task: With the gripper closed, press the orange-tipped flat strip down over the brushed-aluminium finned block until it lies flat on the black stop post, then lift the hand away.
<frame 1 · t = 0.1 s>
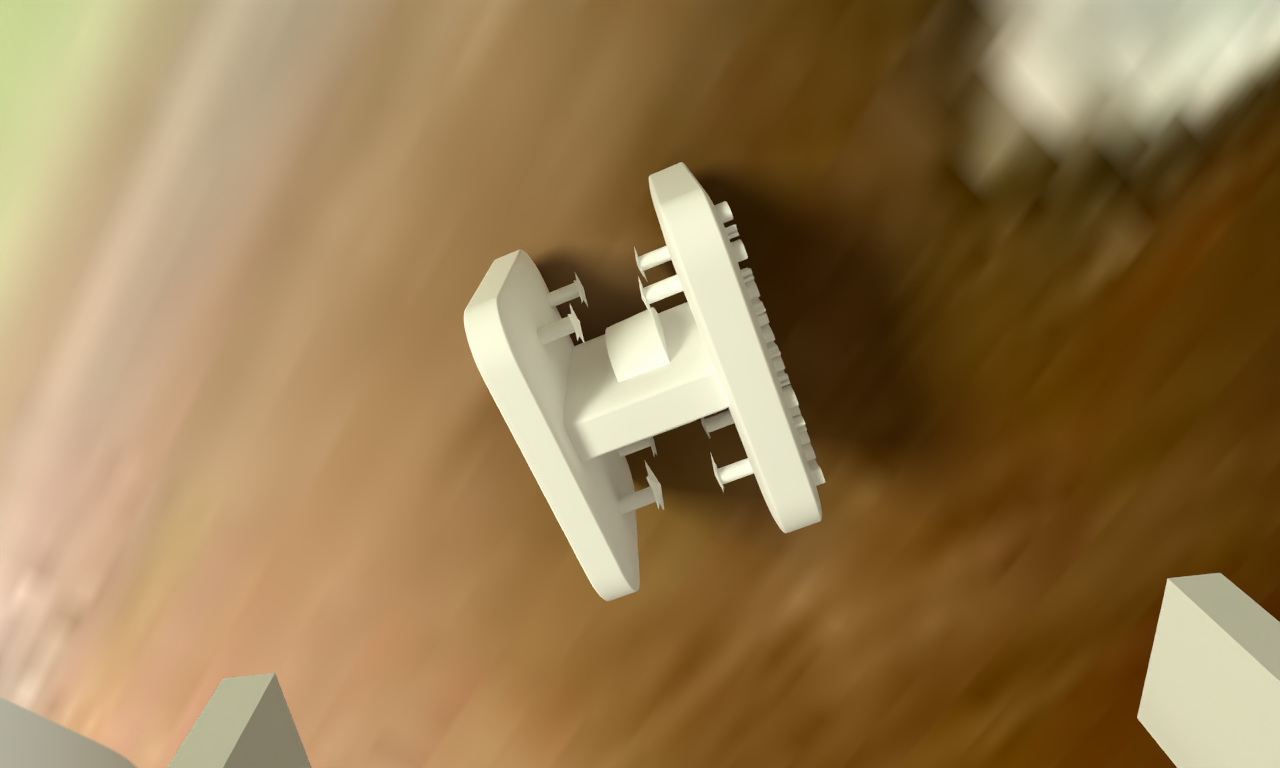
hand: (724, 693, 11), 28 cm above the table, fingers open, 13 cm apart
cable organizer: (644, 329, 39), on the table
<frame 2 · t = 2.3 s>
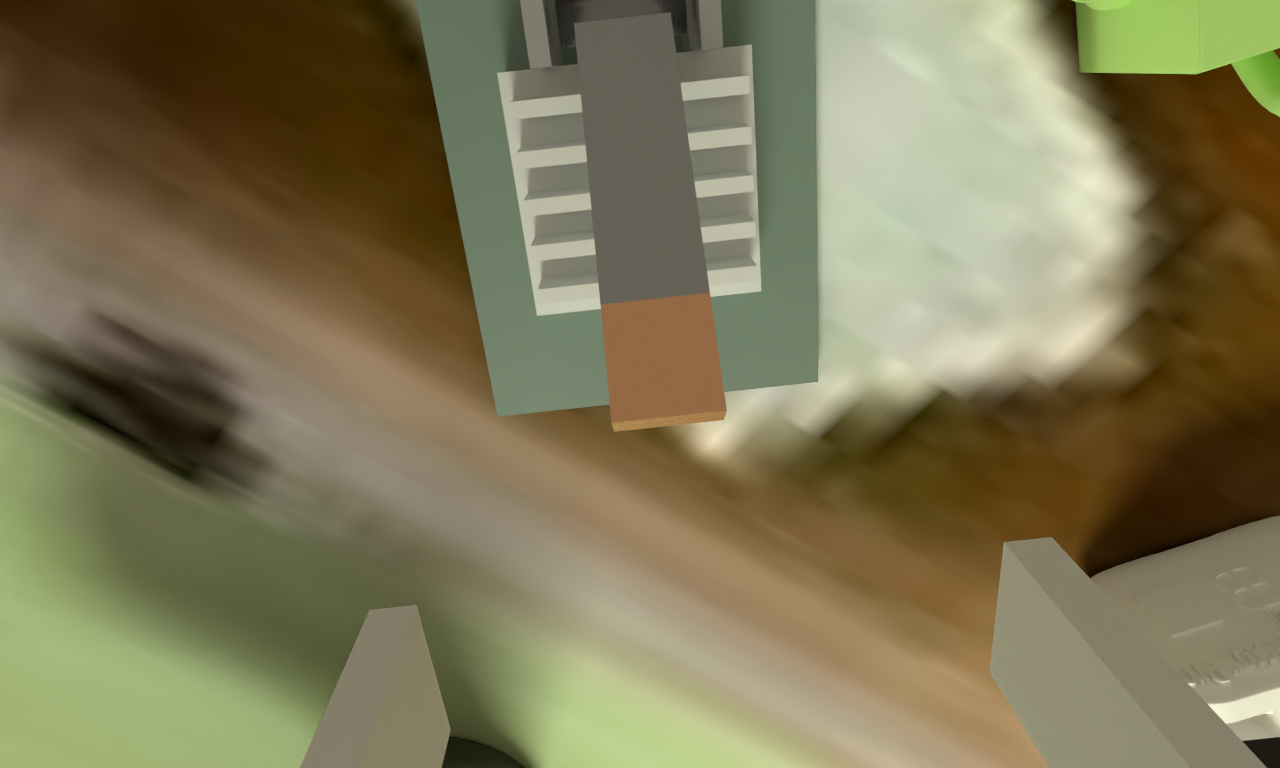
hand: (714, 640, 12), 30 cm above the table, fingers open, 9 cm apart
cable organizer: (1183, 590, 50), on the table
orange-tipped flat strip: (641, 189, 26), point 12 cm above the table, hinge at 40.0°
heatsink board: (634, 176, 38), on the table
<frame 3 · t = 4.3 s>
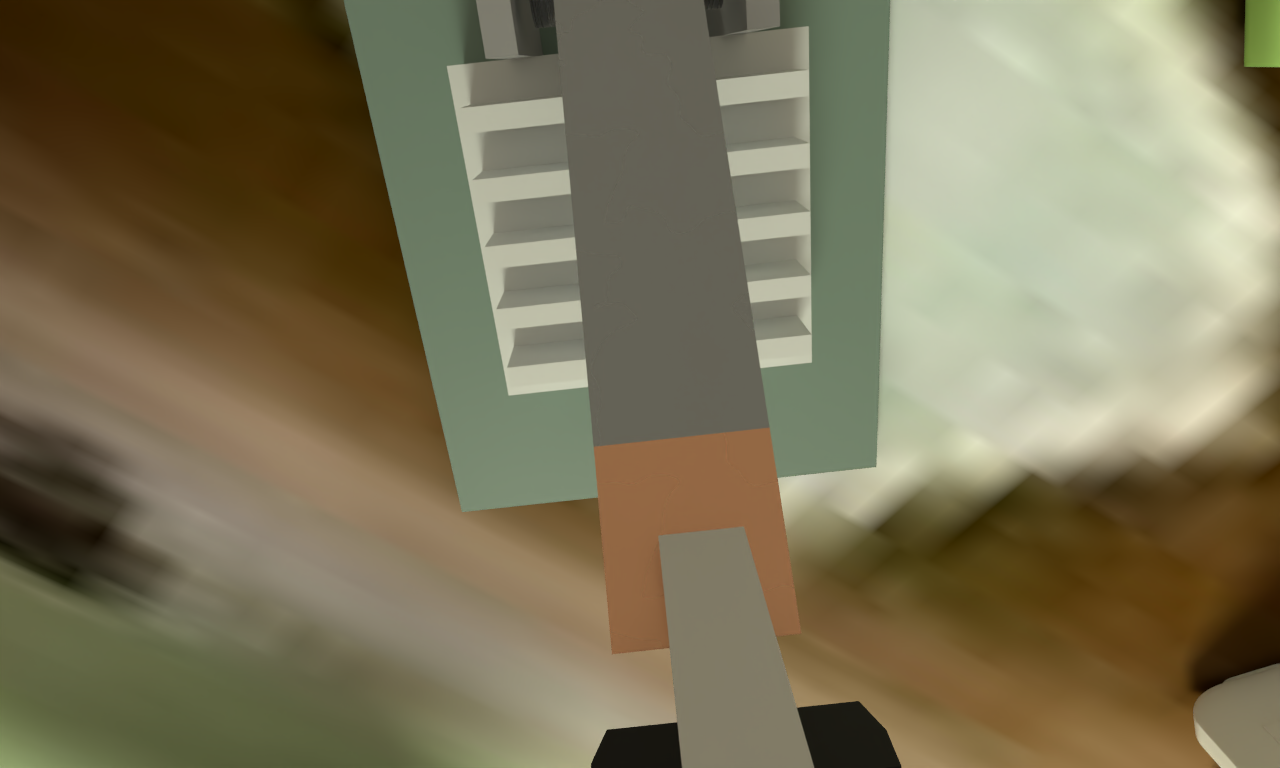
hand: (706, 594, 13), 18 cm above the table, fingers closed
orange-tipped flat strip: (657, 250, 17), point 12 cm above the table, hinge at 38.8°, touching gripper
heatsink board: (640, 204, 29), on the table
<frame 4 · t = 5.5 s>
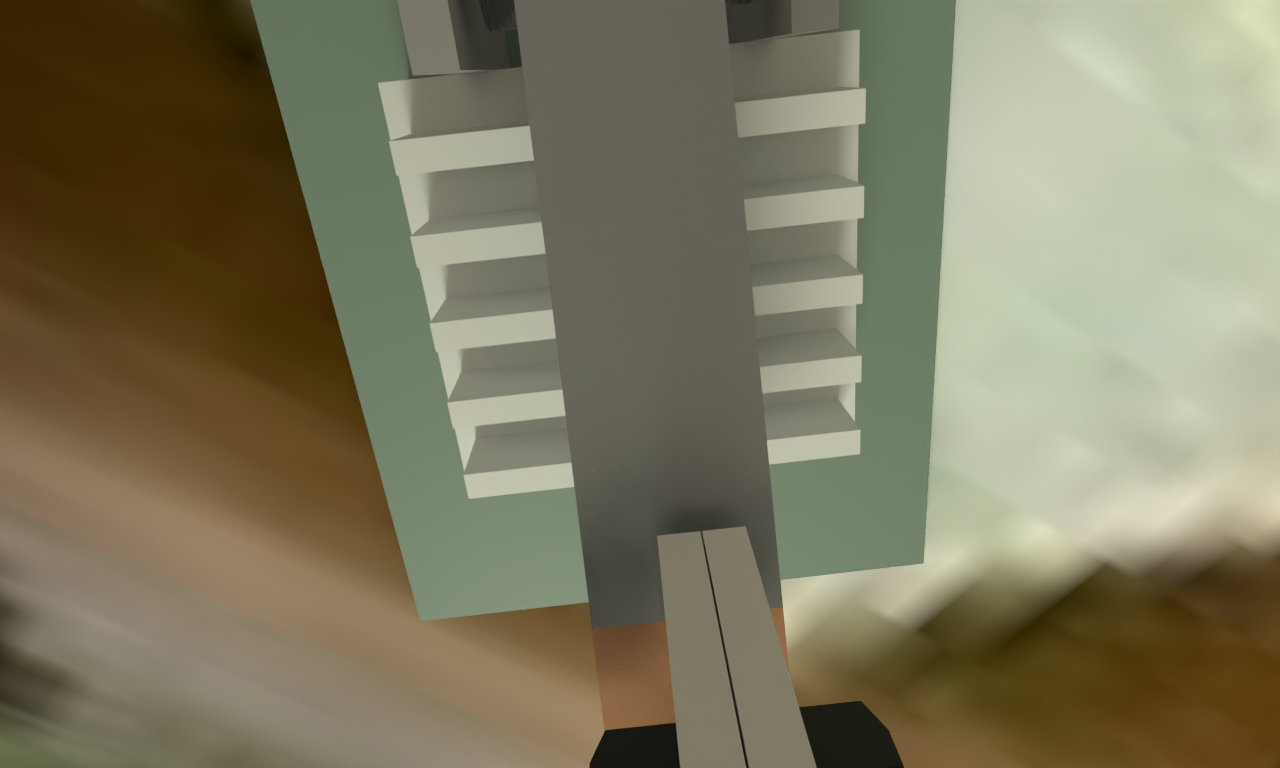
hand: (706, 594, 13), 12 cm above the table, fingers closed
orange-tipped flat strip: (660, 380, 14), point 10 cm above the table, hinge at 16.9°, touching gripper
heatsink board: (636, 252, 23), on the table
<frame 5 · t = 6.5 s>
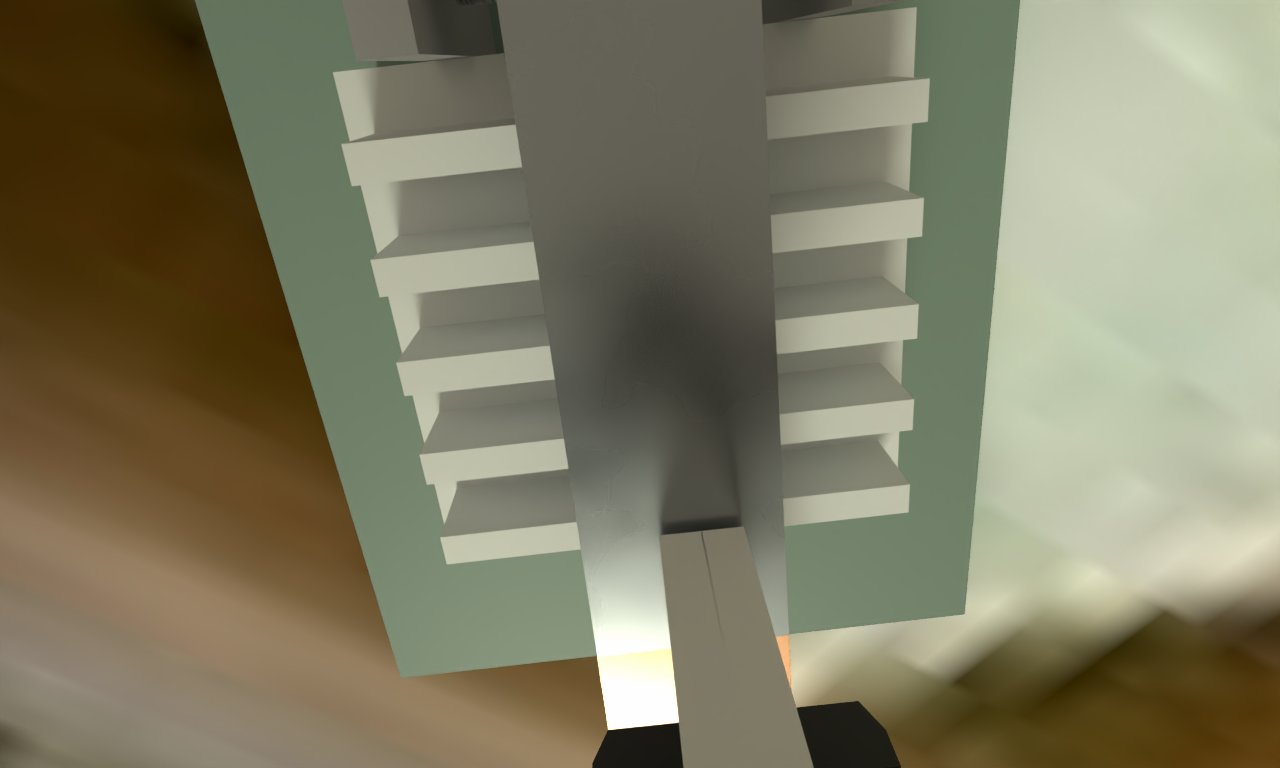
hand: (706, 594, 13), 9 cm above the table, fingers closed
orange-tipped flat strip: (669, 414, 13), point 8 cm above the table, hinge at 3.3°, touching gripper
heatsink board: (643, 268, 20), on the table
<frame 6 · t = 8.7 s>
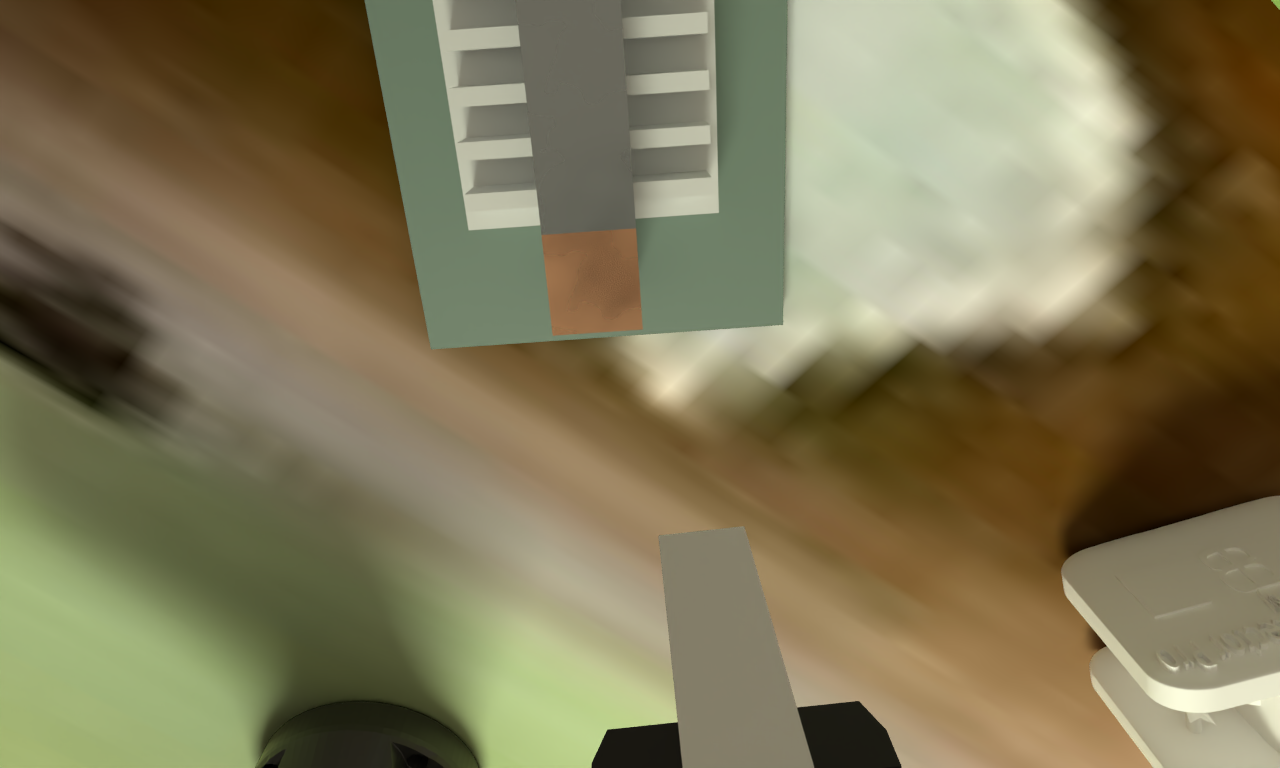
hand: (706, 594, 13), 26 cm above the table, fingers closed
cable organizer: (1170, 574, 47), on the table
orange-tipped flat strip: (578, 106, 27), point 8 cm above the table, hinge at 3.2°
heatsink board: (585, 83, 34), on the table
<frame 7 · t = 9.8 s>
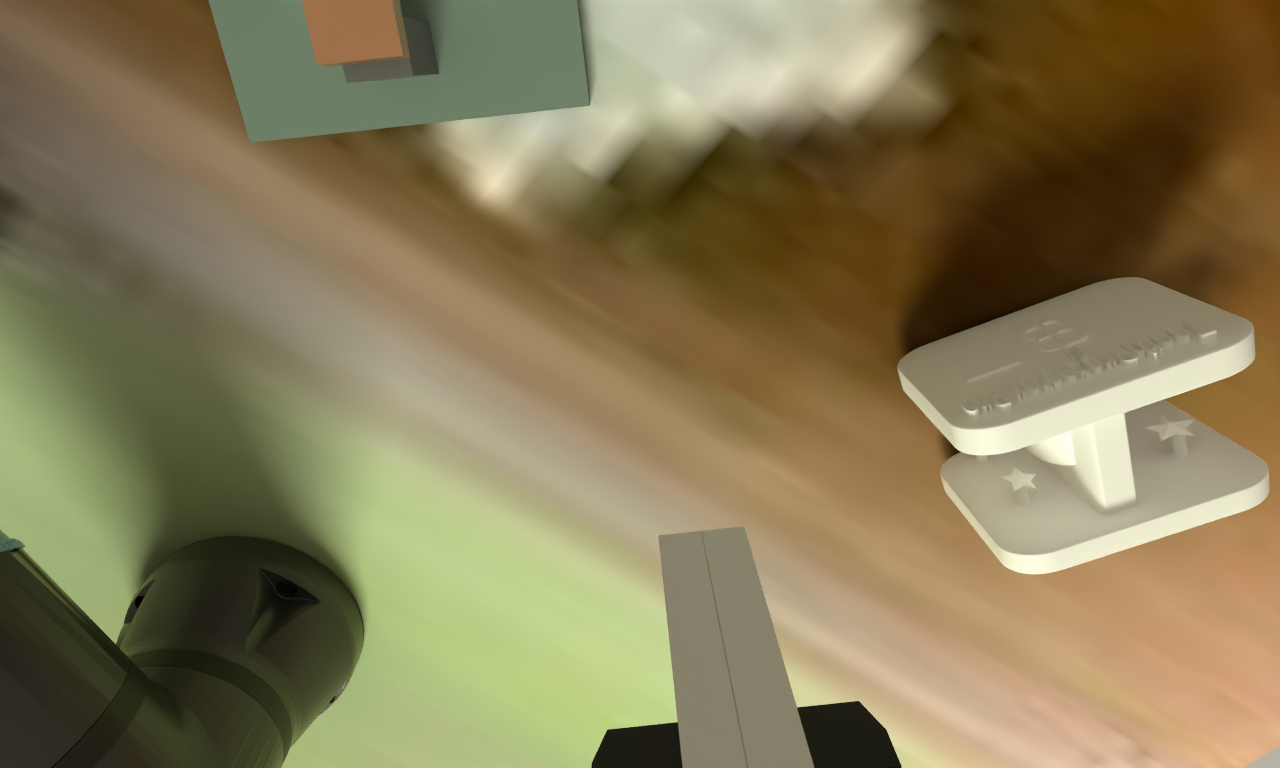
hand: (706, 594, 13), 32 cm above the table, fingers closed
cable organizer: (1014, 375, 48), on the table
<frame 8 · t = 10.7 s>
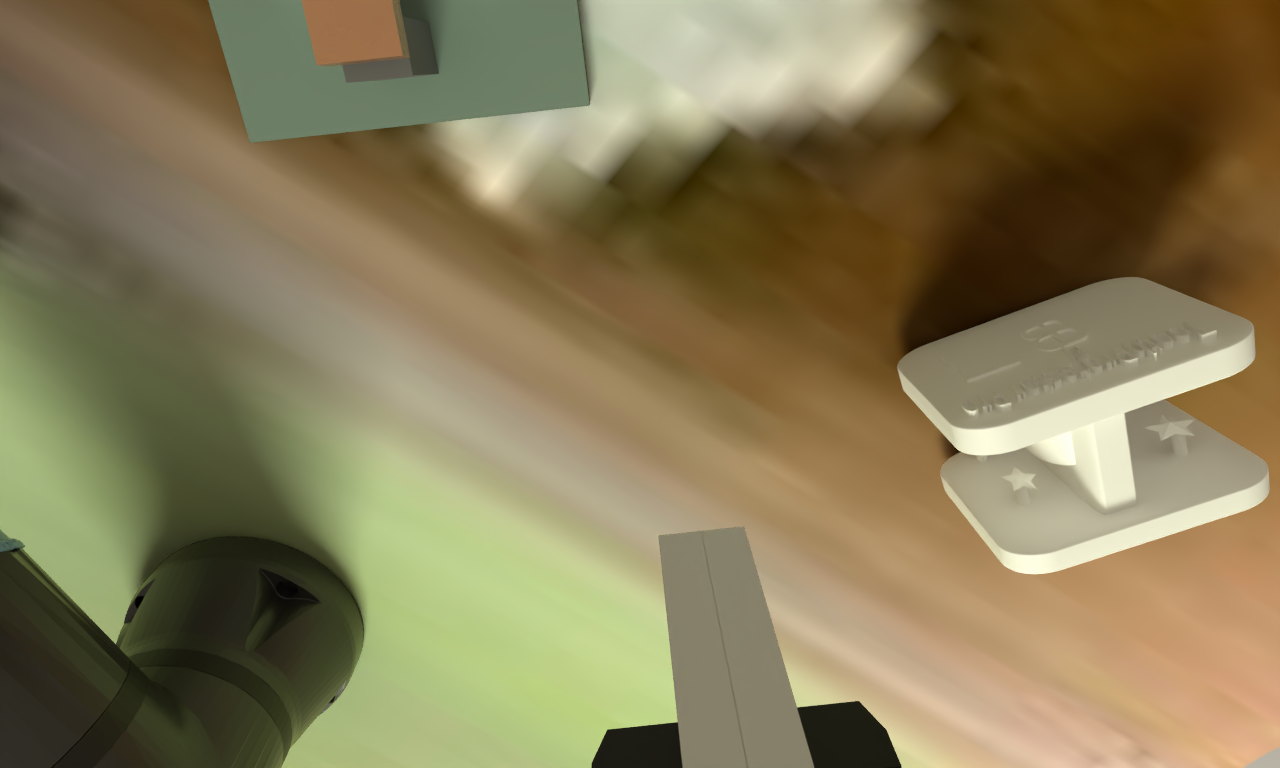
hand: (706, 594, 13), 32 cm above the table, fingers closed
cable organizer: (1014, 375, 48), on the table
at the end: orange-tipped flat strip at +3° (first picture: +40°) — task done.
